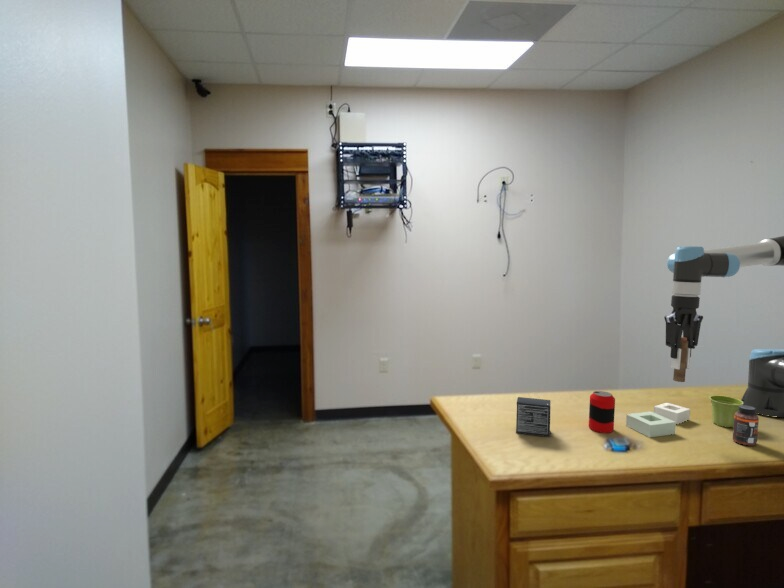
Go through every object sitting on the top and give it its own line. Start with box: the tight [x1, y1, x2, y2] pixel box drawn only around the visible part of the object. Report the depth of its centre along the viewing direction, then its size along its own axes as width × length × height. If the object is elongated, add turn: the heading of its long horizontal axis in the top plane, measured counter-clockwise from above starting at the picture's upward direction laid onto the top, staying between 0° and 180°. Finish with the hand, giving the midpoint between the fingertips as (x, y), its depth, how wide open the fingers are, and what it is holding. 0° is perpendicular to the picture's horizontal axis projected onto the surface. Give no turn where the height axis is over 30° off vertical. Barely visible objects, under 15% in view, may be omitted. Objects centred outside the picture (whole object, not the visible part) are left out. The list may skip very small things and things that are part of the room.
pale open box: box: [625, 411, 677, 438], centre depth 153 cm, size 10×10×4 cm
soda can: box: [588, 390, 616, 434], centre depth 153 cm, size 8×8×12 cm
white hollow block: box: [653, 402, 691, 425], centre depth 163 cm, size 8×8×4 cm
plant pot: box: [709, 394, 743, 428], centre depth 157 cm, size 9×9×9 cm
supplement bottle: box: [732, 405, 760, 447], centre depth 143 cm, size 6×6×11 cm
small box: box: [515, 396, 552, 438], centre depth 151 cm, size 11×6×10 cm, turn 71°
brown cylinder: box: [672, 336, 688, 383], centre depth 149 cm, size 3×3×14 cm
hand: (679, 367), depth 149 cm, fingers closed on brown cylinder, 3 cm apart
